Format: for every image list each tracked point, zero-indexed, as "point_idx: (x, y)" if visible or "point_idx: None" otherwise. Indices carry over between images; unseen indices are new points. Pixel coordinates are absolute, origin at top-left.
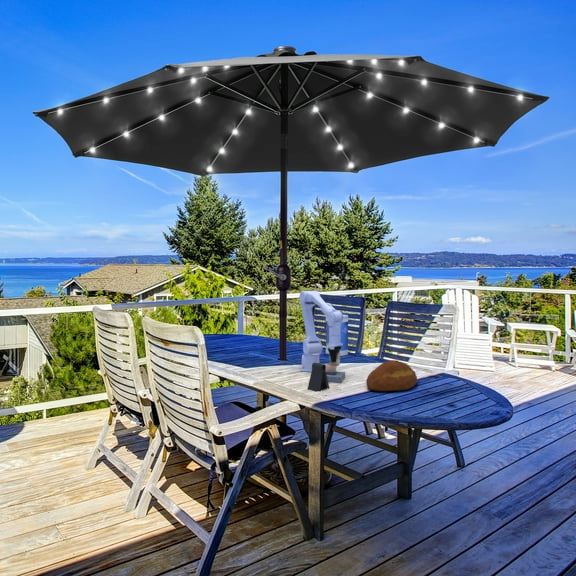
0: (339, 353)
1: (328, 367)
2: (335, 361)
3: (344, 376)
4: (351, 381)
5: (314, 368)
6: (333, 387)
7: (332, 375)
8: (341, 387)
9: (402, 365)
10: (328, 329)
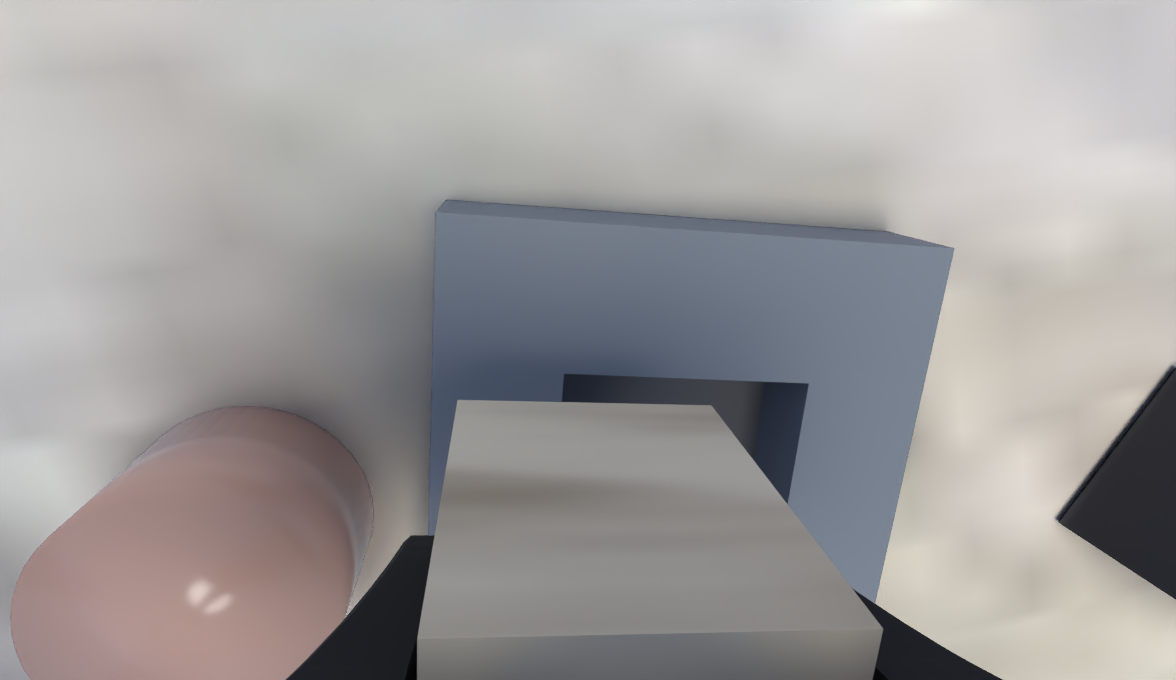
0: (574, 634)
1: (338, 623)
2: None
3: (526, 210)
4: (708, 40)
5: None
6: (1137, 310)
7: (823, 428)
8: (1135, 184)
9: None
10: None
